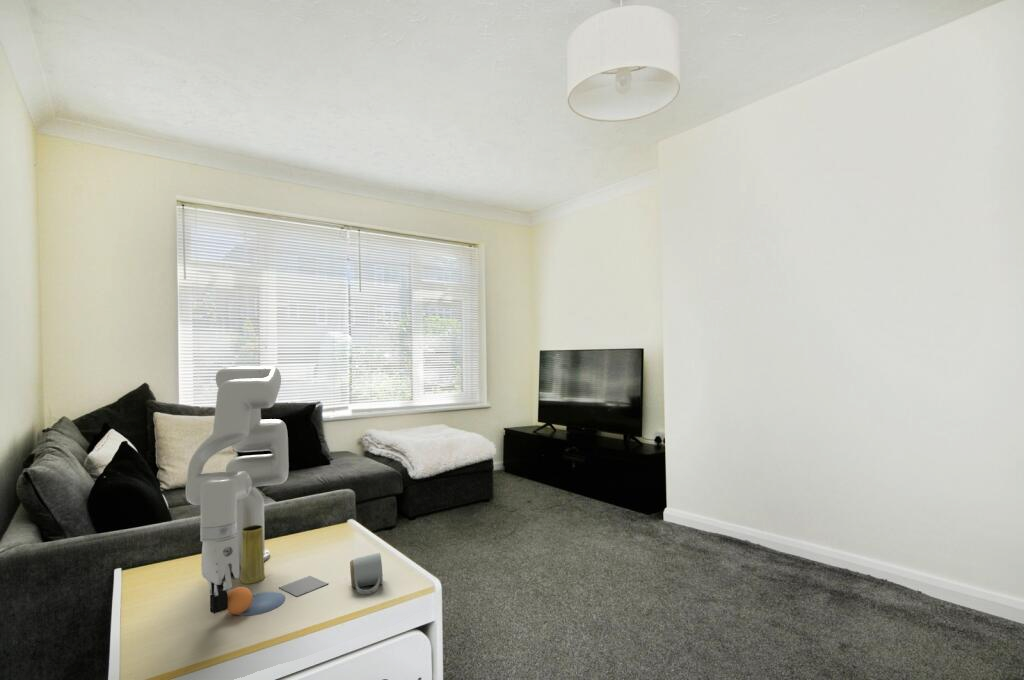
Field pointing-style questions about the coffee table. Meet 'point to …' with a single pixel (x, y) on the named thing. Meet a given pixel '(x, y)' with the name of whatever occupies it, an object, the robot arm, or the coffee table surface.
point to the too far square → (303, 586)
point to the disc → (264, 603)
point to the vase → (252, 555)
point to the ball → (239, 600)
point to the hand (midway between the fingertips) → (218, 610)
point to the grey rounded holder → (366, 572)
